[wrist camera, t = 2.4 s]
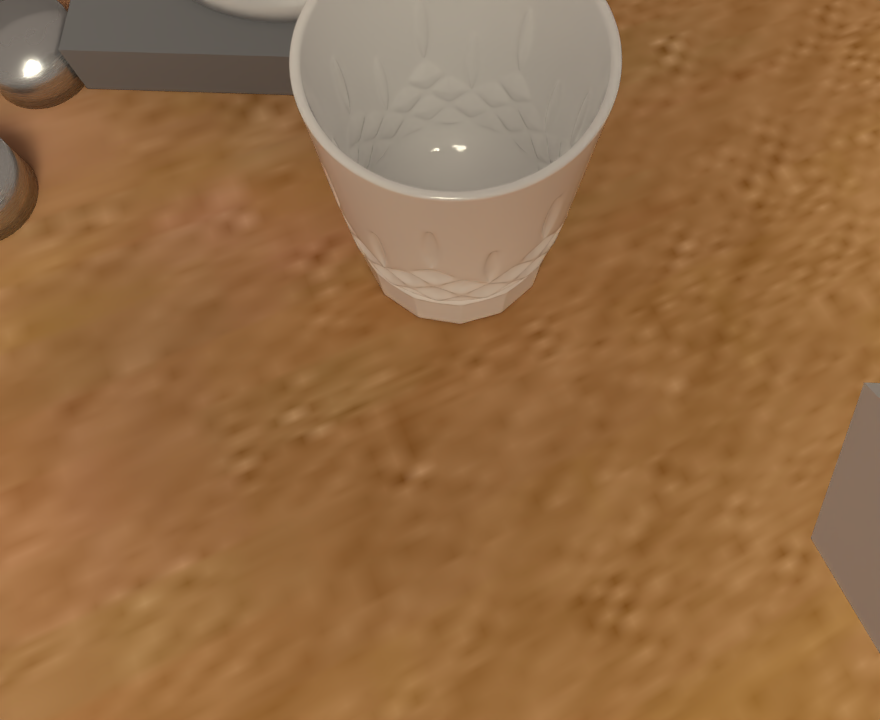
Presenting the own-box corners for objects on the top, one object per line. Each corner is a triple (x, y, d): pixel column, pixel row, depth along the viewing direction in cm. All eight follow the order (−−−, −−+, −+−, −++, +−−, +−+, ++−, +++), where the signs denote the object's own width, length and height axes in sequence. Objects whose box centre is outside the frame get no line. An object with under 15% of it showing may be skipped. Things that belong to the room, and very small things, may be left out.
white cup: (524, 124, 28) (560, -111, 18) (591, 307, 26) (672, 148, 16) (327, 175, 27) (258, -38, 18) (378, 366, 25) (331, 238, 16)
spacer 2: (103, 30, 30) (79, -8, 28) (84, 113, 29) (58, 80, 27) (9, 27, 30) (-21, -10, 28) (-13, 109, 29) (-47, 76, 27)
